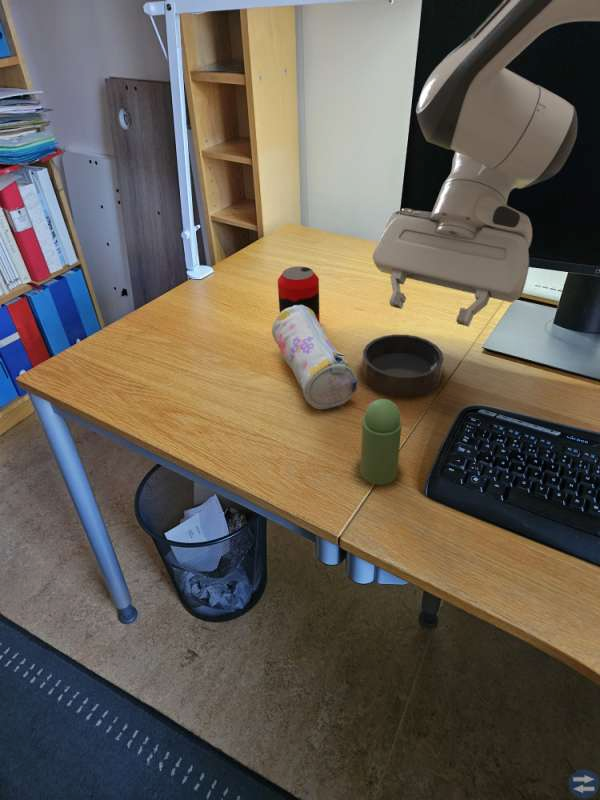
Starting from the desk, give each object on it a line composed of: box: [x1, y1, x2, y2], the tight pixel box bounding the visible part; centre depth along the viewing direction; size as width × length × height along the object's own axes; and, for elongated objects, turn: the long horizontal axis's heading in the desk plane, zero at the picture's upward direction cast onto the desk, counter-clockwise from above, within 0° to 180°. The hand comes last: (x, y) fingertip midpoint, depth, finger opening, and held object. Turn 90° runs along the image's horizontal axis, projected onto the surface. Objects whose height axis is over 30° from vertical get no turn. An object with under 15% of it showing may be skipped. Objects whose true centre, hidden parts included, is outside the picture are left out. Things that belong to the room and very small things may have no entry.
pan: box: [361, 334, 445, 399], centre depth 94 cm, size 13×13×4 cm
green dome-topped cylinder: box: [360, 398, 403, 486], centre depth 73 cm, size 5×5×12 cm
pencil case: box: [271, 305, 358, 410], centre depth 93 cm, size 21×9×10 cm, turn 18°
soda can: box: [277, 266, 321, 324], centre depth 105 cm, size 8×8×12 cm
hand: (427, 315), depth 74 cm, fingers open, 8 cm apart
